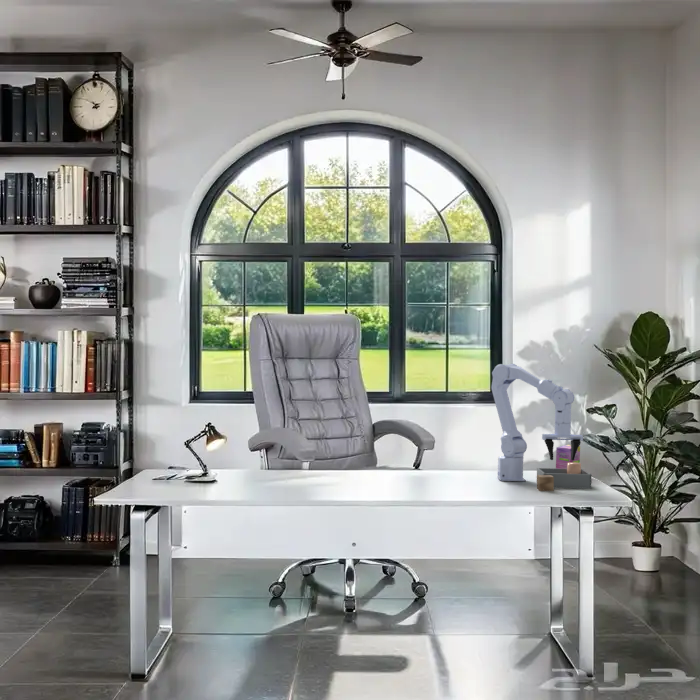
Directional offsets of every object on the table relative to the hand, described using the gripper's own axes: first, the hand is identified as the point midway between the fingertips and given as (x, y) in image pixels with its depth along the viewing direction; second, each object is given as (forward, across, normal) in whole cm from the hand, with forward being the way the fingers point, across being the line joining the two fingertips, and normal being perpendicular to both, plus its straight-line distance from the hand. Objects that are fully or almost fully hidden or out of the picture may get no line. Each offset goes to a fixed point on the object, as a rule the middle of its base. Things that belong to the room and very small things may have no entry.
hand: (561, 459), depth 331 cm
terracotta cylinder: (+9, +6, +6) cm, 12 cm away
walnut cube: (+10, -8, -8) cm, 15 cm away
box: (+10, +8, +23) cm, 26 cm away
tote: (+10, +2, +3) cm, 10 cm away
